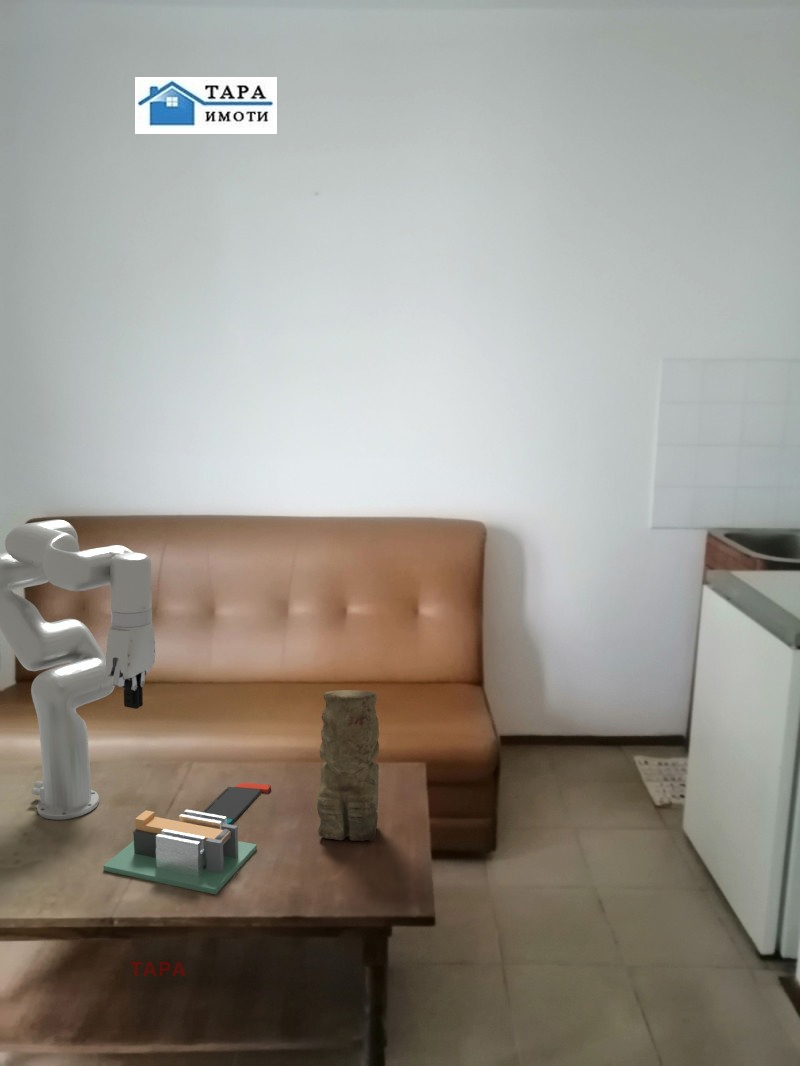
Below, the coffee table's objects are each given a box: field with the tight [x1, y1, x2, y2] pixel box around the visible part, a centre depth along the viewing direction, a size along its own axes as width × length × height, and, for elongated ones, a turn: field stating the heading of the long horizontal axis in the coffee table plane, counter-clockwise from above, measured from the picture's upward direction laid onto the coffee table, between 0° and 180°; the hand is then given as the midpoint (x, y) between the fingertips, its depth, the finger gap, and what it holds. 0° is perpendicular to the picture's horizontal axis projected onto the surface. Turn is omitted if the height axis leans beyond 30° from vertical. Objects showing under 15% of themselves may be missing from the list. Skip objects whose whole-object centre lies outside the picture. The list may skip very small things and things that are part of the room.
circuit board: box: [103, 824, 258, 895], centre depth 164 cm, size 24×16×7 cm, turn 72°
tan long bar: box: [134, 810, 231, 844], centre depth 163 cm, size 19×4×2 cm, turn 72°
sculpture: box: [316, 689, 380, 842], centre depth 172 cm, size 12×9×30 cm
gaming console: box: [202, 782, 272, 825], centre depth 186 cm, size 19×1×10 cm
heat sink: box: [156, 808, 227, 877], centre depth 163 cm, size 9×11×6 cm
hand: (133, 706), depth 167 cm, fingers closed
